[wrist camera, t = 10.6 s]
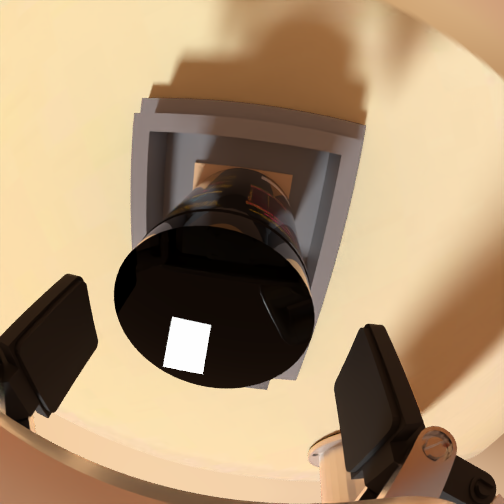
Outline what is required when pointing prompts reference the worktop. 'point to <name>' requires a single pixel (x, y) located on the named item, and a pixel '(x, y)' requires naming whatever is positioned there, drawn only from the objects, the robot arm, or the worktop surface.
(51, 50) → the worktop surface
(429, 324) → the worktop surface
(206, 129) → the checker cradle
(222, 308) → the supplement container
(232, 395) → the worktop surface
